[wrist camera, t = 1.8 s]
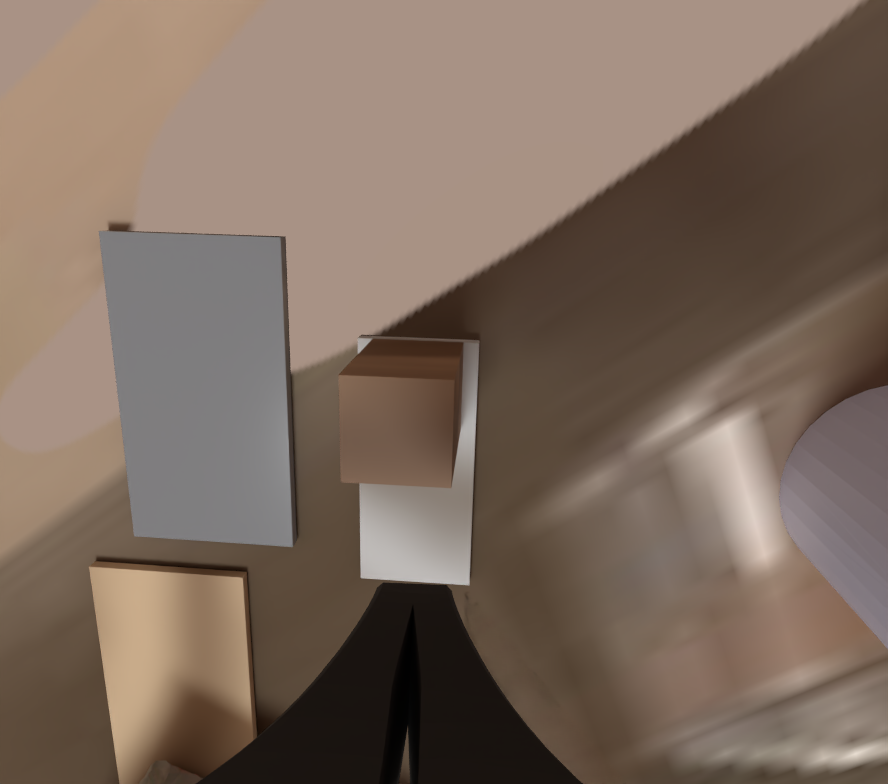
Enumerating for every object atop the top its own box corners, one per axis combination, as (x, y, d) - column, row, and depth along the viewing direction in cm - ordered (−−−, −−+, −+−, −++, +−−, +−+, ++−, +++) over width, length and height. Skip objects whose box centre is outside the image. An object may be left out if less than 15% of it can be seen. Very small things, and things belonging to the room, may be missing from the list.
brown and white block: (361, 334, 22) (319, 374, 17) (479, 339, 22) (474, 380, 16) (364, 569, 24) (328, 667, 19) (469, 576, 24) (462, 677, 19)
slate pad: (285, 236, 21) (280, 237, 20) (296, 540, 24) (292, 546, 23) (107, 230, 21) (98, 230, 21) (141, 529, 24) (134, 536, 24)
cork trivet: (246, 571, 24) (242, 577, 24) (269, 933, 30) (266, 943, 29) (95, 561, 25) (89, 566, 24) (144, 919, 30) (139, 929, 30)
